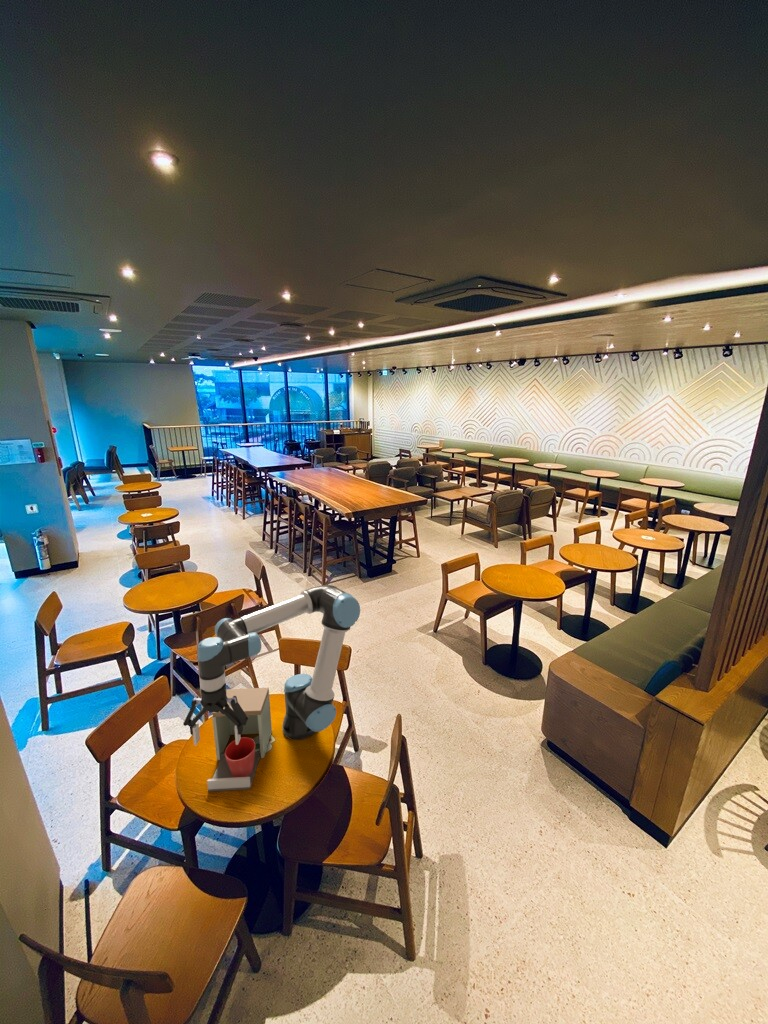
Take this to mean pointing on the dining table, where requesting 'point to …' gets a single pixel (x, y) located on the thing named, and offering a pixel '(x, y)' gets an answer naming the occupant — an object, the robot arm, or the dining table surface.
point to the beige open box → (258, 720)
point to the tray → (231, 777)
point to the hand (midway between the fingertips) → (217, 742)
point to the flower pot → (241, 757)
